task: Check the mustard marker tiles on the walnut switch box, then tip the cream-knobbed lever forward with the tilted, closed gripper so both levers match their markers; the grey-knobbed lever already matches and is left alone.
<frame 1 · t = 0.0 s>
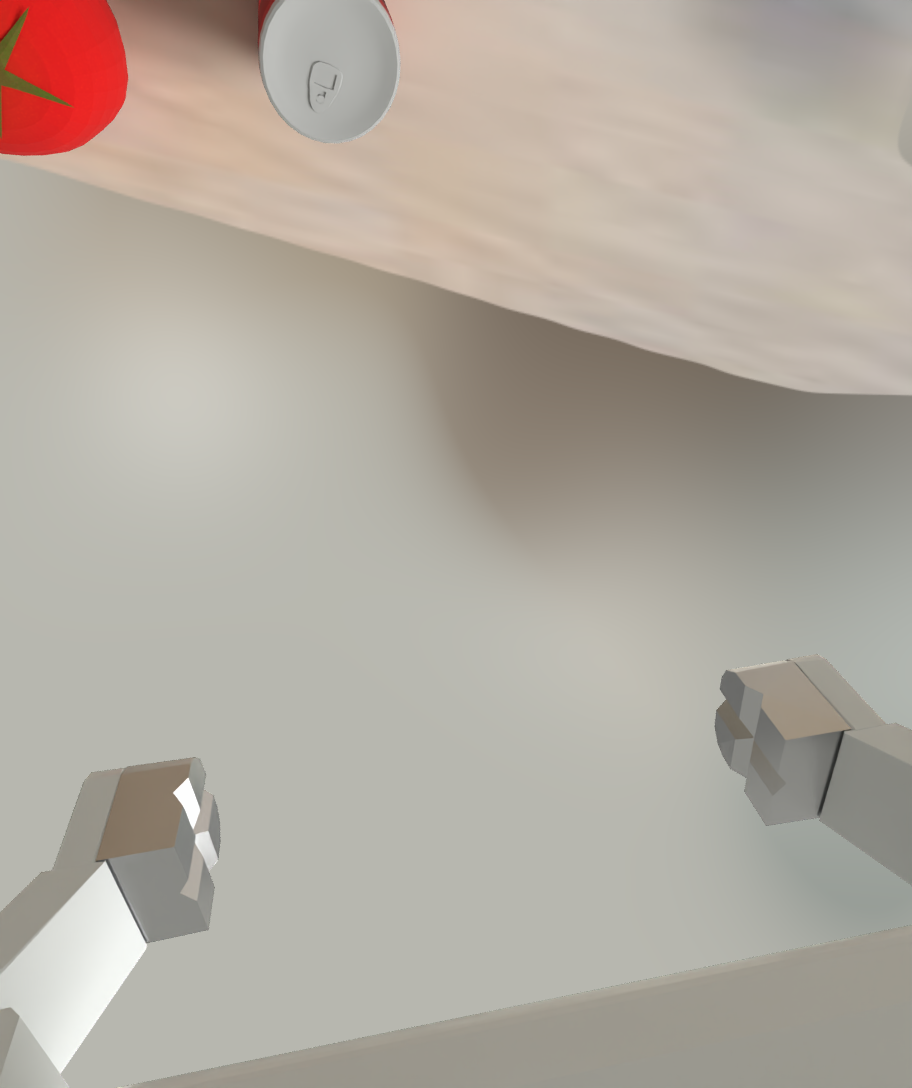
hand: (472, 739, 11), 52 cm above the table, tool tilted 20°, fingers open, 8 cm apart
canned food: (320, 7, 47), on the table
tomato: (24, 14, 45), on the table
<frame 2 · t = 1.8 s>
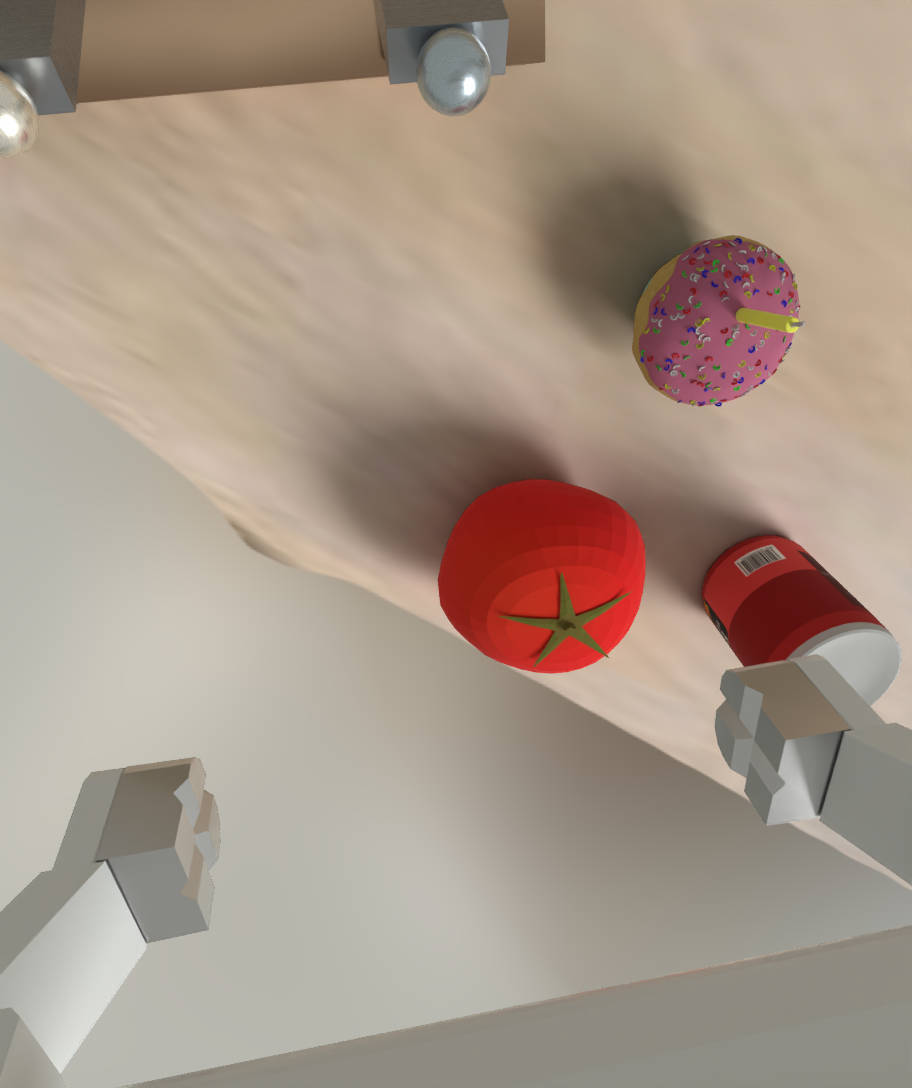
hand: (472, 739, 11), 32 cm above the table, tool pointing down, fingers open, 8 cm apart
cream knob lever: (11, 10, 23), point 11 cm above the table, hinge at -32.0°
canned food: (749, 576, 53), on the table
tomato: (522, 529, 48), on the table
cupcake: (680, 303, 42), on the table
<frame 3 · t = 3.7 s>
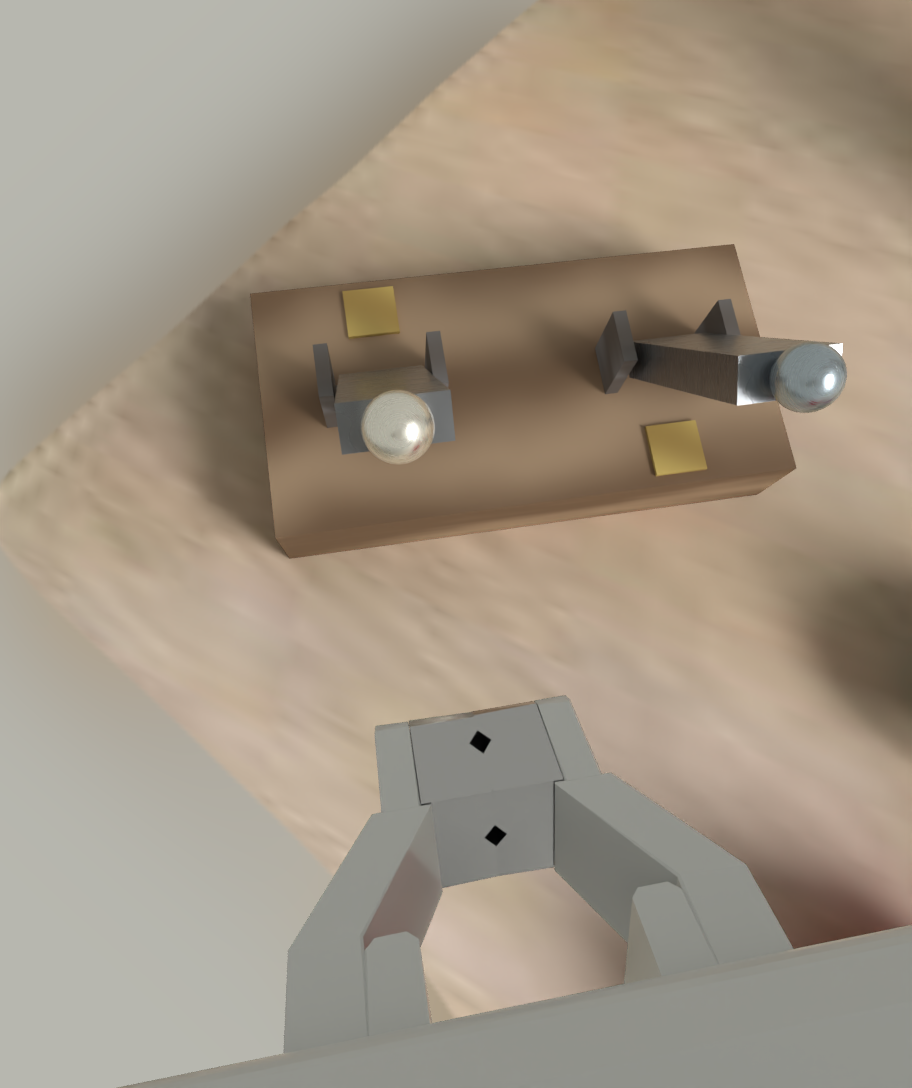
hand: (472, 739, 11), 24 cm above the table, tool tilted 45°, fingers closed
switch box: (510, 415, 38), on the table
cream knob lever: (389, 406, 27), point 11 cm above the table, hinge at -32.0°
grey knob lever: (731, 365, 28), point 11 cm above the table, hinge at -32.0°
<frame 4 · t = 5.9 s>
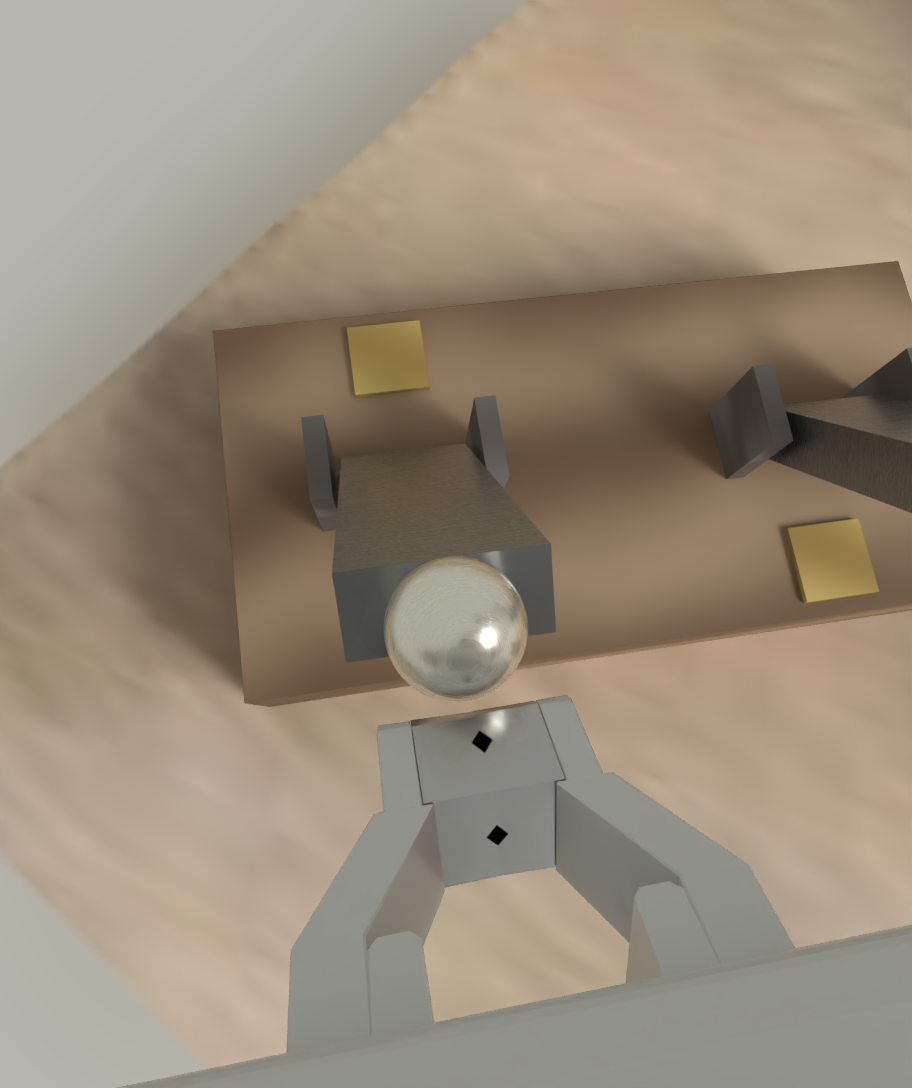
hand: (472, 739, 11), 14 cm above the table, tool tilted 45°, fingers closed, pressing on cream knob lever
switch box: (578, 496, 28), on the table
cream knob lever: (425, 535, 16), point 11 cm above the table, hinge at -31.2°, touching gripper
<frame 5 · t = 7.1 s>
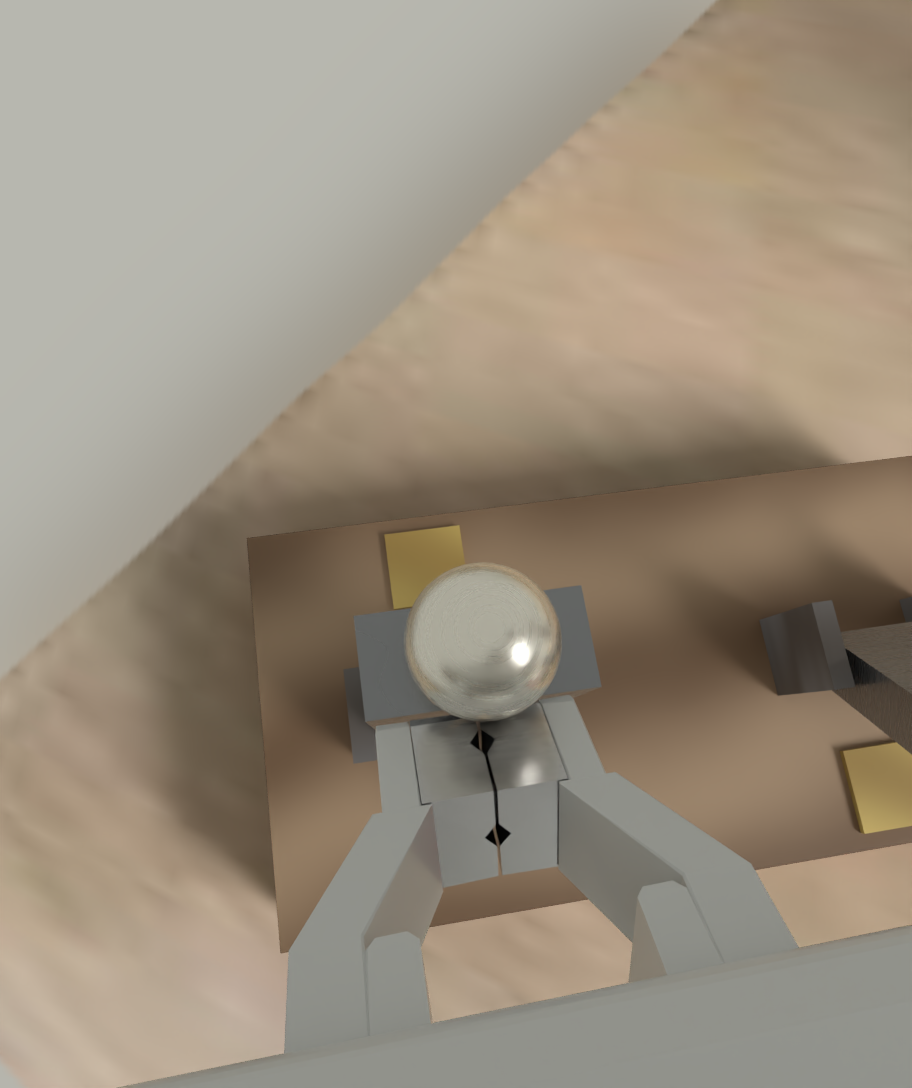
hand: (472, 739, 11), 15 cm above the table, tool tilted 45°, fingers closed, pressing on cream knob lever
switch box: (617, 683, 27), on the table
cream knob lever: (461, 679, 15), point 12 cm above the table, hinge at 2.2°, touching gripper
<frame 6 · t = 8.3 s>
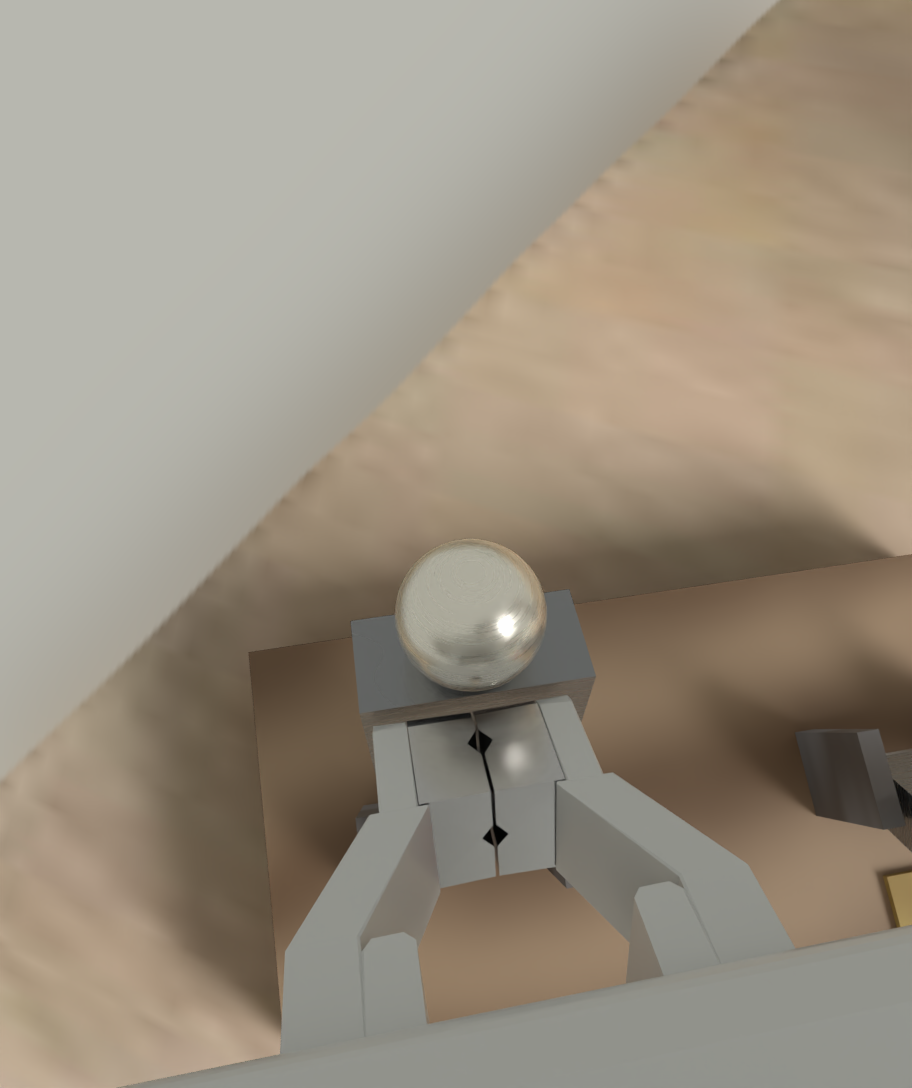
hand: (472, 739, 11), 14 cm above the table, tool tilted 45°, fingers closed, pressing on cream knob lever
switch box: (641, 785, 25), on the table
cream knob lever: (468, 744, 15), point 11 cm above the table, hinge at 22.9°, touching gripper
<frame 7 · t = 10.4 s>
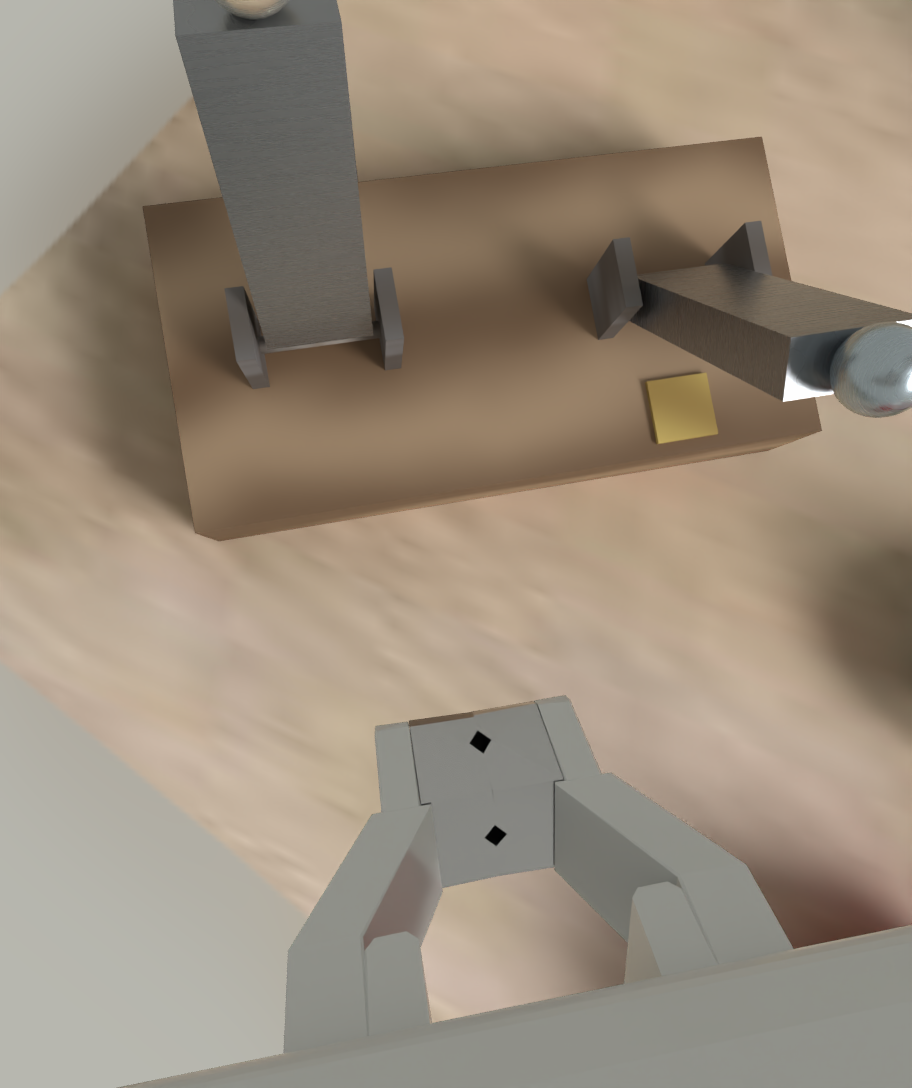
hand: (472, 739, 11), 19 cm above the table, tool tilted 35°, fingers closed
switch box: (480, 356, 32), on the table
cream knob lever: (287, 166, 20), point 11 cm above the table, hinge at 22.9°
grey knob lever: (767, 326, 22), point 11 cm above the table, hinge at -32.0°
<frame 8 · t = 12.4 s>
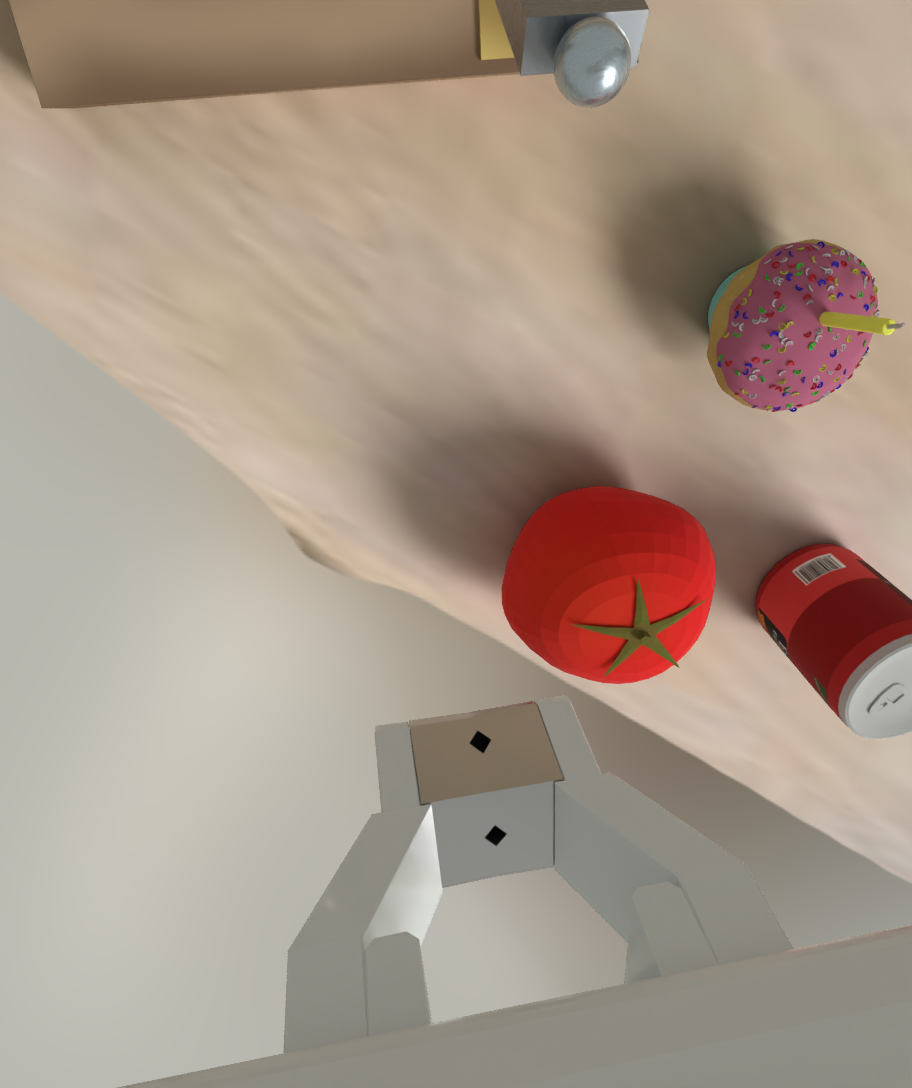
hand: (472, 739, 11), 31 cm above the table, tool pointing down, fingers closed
canned food: (802, 586, 53), on the table
tomato: (580, 538, 48), on the table
cupcake: (747, 308, 42), on the table
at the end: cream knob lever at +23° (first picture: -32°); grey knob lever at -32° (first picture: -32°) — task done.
